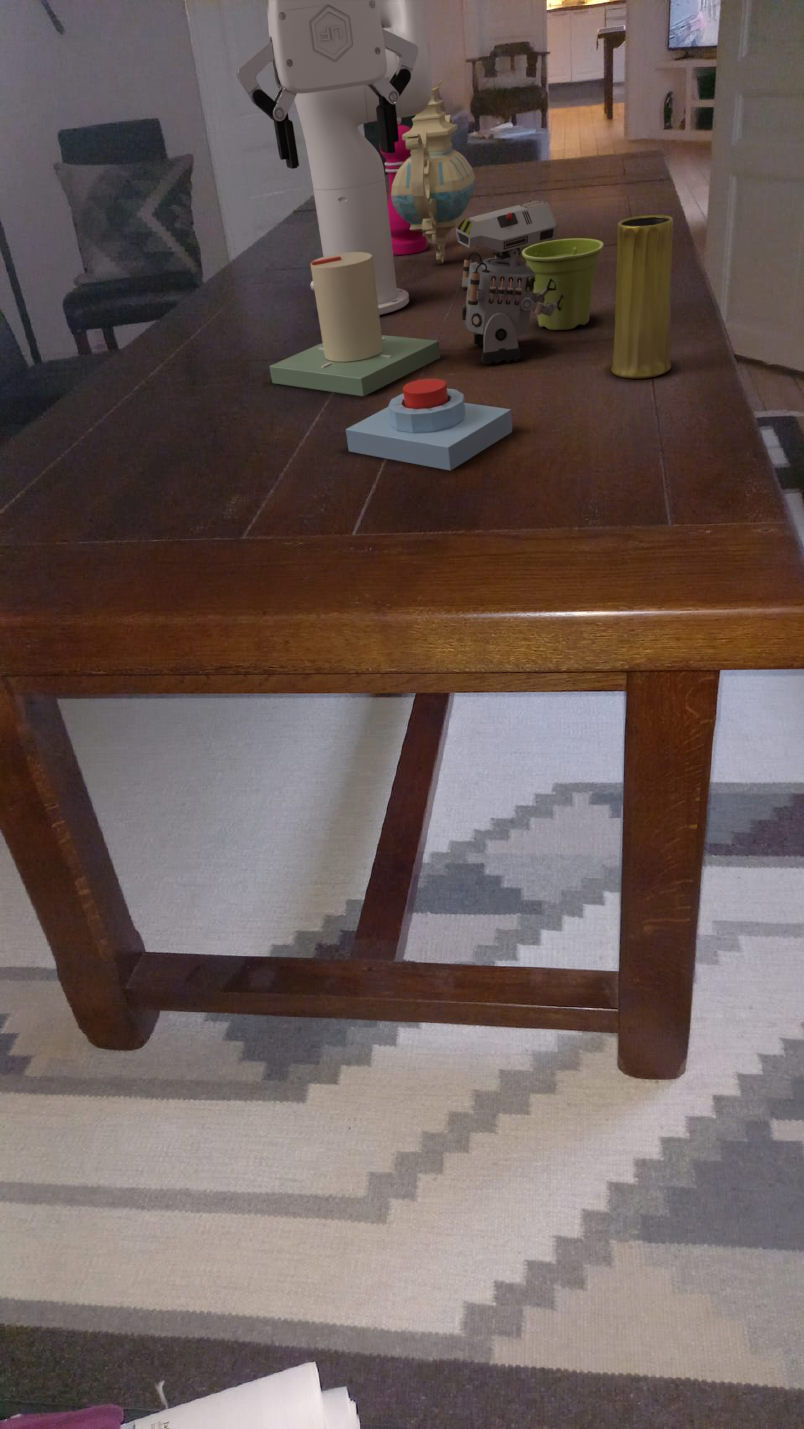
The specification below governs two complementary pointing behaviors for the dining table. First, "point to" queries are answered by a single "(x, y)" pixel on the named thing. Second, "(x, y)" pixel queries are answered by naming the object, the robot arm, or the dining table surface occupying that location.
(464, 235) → the figurine
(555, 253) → the plant pot
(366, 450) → the button box
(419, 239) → the pepper mill
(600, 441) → the dining table surface
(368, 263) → the cream cylinder red stripe
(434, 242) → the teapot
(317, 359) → the swivel stand
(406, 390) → the button
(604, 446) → the dining table surface
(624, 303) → the vase
